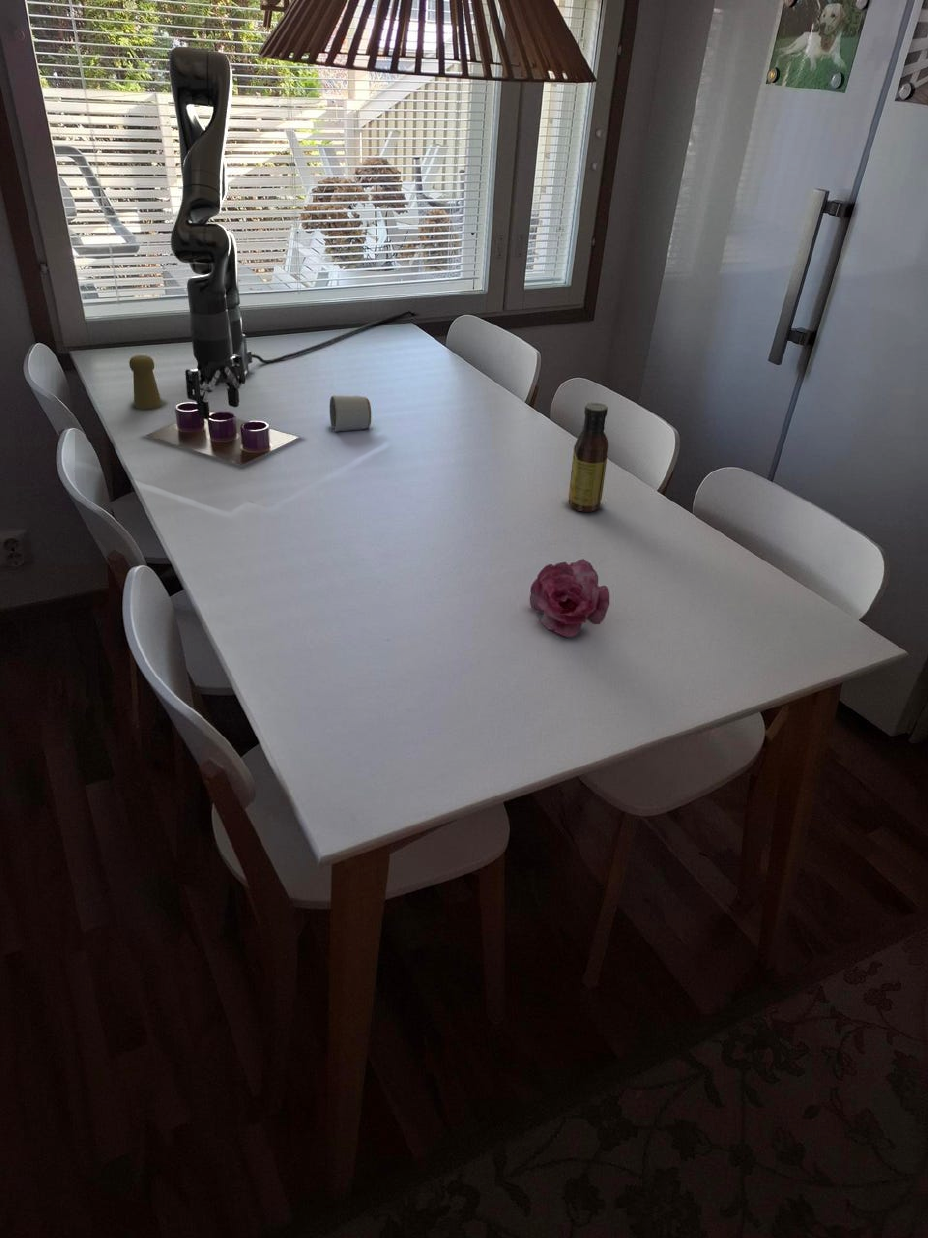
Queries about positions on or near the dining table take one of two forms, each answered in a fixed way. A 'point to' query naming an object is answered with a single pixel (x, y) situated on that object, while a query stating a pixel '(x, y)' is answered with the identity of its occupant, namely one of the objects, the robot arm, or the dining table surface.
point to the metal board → (219, 442)
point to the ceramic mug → (350, 412)
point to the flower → (569, 597)
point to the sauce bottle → (589, 461)
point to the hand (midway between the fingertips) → (219, 412)
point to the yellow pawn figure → (144, 383)
